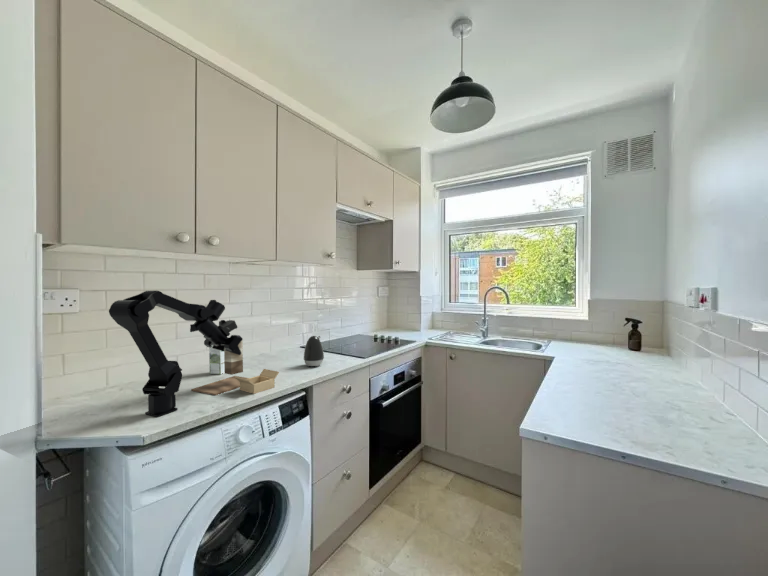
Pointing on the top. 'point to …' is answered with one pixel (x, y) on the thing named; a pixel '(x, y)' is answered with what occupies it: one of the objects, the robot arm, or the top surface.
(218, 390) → the walnut board
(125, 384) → the top surface
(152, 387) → the robot arm
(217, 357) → the syrup box
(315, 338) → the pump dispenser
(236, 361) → the tall box
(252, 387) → the carton
